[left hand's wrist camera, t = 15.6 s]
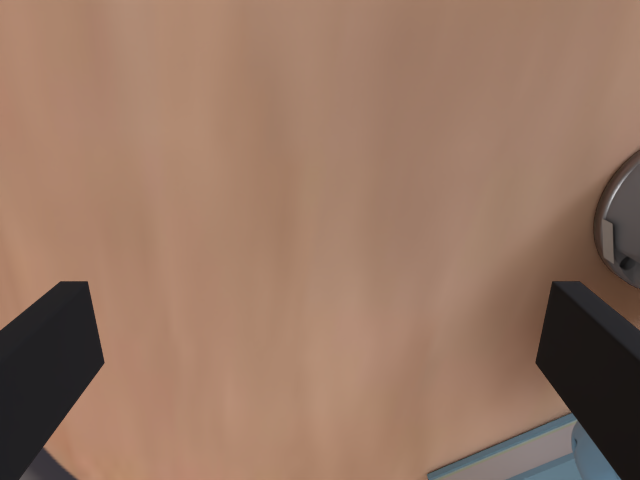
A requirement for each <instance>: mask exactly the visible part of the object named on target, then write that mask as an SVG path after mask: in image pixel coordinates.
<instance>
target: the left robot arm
mask: <svg viewBox="0 0 640 480" xmlns="http://www.w3.org/2000/svg"><path fill="white" fill-rule="evenodd" d="M594 239H595V244H596V247H597V250H598V253H599V255H600V257H601V259H602V260H603V262H604V263H605V265H606V266H607V267H608V268H609V269H610V270H611V271H612V272H613V273H614V274H616V275H617V276H619V277H620V278H622V279H623V280H624V281H626V282H627V283H629V284H630V285H632V286H634V287H636V288H639V289H640V150H639V151H638V152H636V153H635V154H634V155H633V156H632V157H630V158H629V159H628V160H627V161H626V162H625V163H624V164H623V165H622V166H621V167H620V168H619V170H618V171H617V172H616V173H615V174H614V176H613V177H612V178H611V180H610V181H609V183H608V185H607V186H606V188H605V190H604V192H603V194H602V196H601V198H600V201H599V203H598V206H597V210H596V214H595V220H594ZM103 364H104V358H103V353H102V348H101V343H100V339H99V334H98V329H97V324H96V319H95V315H94V310H93V305H92V300H91V295H90V290H89V286H88V281H60V282H59V283H58V284H57V285H56V286H54V287H53V288H52V289H51V290H49V291H48V292H47V293H46V294H45V295H43V296H42V297H41V298H40V299H38V300H37V301H36V302H35V303H34V304H32V305H31V306H30V307H29V308H27V309H26V310H25V311H24V312H23V313H21V314H20V315H19V316H18V317H16V318H15V319H14V320H13V321H12V322H10V323H9V324H8V325H7V326H5V327H4V328H3V329H2V330H1V331H0V480H19V479H20V477H21V476H22V475H23V473H24V472H25V471H26V469H27V468H28V467H29V465H30V464H31V462H32V461H33V460H34V458H35V457H36V456H37V454H38V453H39V452H40V450H41V449H42V448H43V446H44V445H45V443H46V442H47V441H48V439H49V438H50V437H51V435H52V434H53V433H54V431H55V430H56V428H57V427H58V426H59V424H60V423H61V422H62V420H63V419H64V418H65V416H66V415H67V413H68V412H69V411H70V409H71V408H72V407H73V405H74V404H75V403H76V401H77V400H78V398H79V397H80V396H81V394H82V393H83V392H84V390H85V389H86V388H87V386H88V385H89V383H90V382H91V381H92V379H93V378H94V377H95V375H96V374H97V373H98V371H99V370H100V368H101V367H102V366H103ZM536 364H537V366H538V367H539V368H540V370H541V371H542V373H543V374H544V375H545V377H546V378H547V379H548V381H549V382H550V383H551V385H552V386H553V388H554V389H555V390H556V392H557V393H558V394H559V396H560V397H561V398H562V400H563V401H564V403H565V404H566V405H567V407H568V408H569V409H570V411H571V412H572V413H573V415H574V416H575V418H576V419H577V420H578V421H577V422H576V424H575V425H574V427H573V430H572V434H571V444H572V447H571V448H572V451H573V454H574V459H575V463H576V466H577V469H578V471H579V473H580V476H581V478H582V480H640V331H639V330H638V329H637V328H636V327H635V326H633V325H632V324H631V323H630V322H628V321H627V320H626V319H625V318H624V317H622V316H621V315H620V314H619V313H617V312H616V311H615V310H614V309H613V308H611V307H610V306H609V305H608V304H606V303H605V302H604V301H603V300H602V299H600V298H599V297H598V296H597V295H595V294H594V293H593V292H592V291H591V290H589V289H588V288H587V287H586V286H584V285H583V284H582V283H581V282H580V281H552V286H551V290H550V295H549V300H548V305H547V310H546V315H545V319H544V324H543V329H542V334H541V339H540V343H539V348H538V353H537V358H536Z"/></svg>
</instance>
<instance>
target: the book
mask: <svg viewBox="0 0 640 480" xmlns="http://www.w3.org/2000/svg"><path fill="white" fill-rule="evenodd" d="M577 421H578V420H577V419H576V418H575V416H574V415H573V413H571V414H569V415H566V416H564V417H561V418H559V419H557V420H554V421H552V422H550V423H547V424H545V425H543V426H540V427H538V428H536V429H533V430H531V431H528V432H526V433H524V434H521V435H519V436H517V437H514V438H512V439H510V440H507V441H505V442H502V443H500V444H498V445H495V446H493V447H491V448H488V449H486V450H484V451H481V452H479V453H476V454H474V455H472V456H469V457H467V458H465V459H462V460H460V461H458V462H455V463H453V464H450V465H448V466H446V467H443V468H441V469H439V470H436V471H434V472H432V473H429V474H427V476H428V480H582V478H581V476H580V473H579V471H578V469H577V466H576V463H575V459H574V454H573V451H572V448H571V447H572V444H571V434H572V430H573V427H574V425H575V424H576V422H577Z"/></svg>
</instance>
